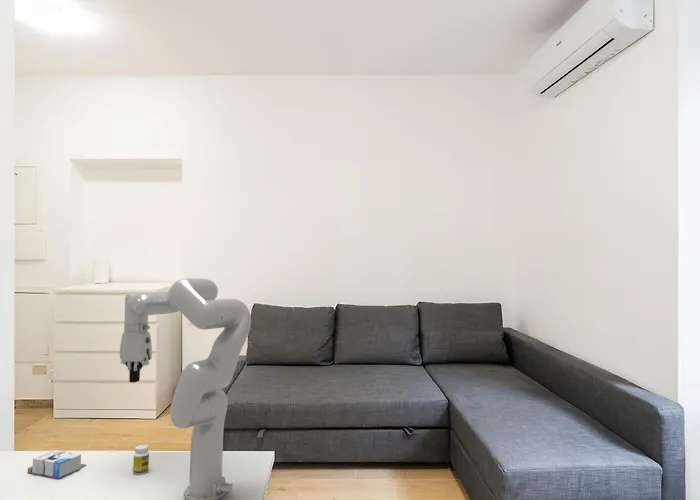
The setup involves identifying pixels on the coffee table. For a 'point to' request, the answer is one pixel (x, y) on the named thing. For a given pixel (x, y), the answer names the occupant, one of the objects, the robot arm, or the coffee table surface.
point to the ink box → (56, 463)
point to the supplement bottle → (141, 460)
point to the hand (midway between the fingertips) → (134, 381)
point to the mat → (47, 475)
